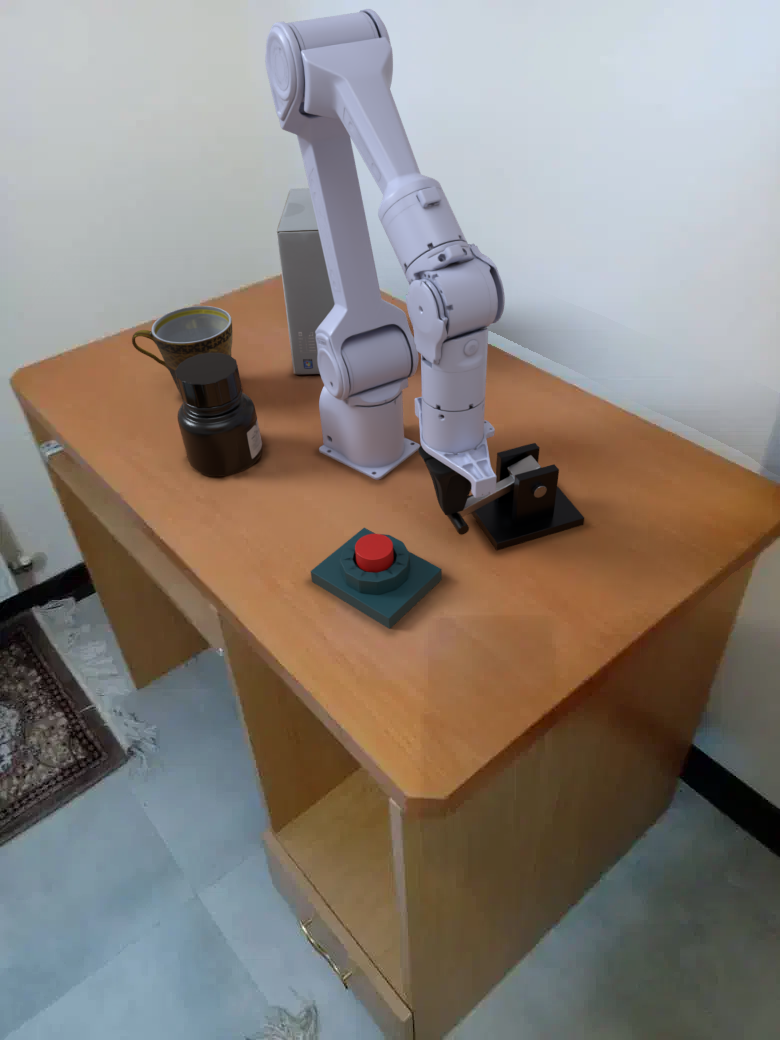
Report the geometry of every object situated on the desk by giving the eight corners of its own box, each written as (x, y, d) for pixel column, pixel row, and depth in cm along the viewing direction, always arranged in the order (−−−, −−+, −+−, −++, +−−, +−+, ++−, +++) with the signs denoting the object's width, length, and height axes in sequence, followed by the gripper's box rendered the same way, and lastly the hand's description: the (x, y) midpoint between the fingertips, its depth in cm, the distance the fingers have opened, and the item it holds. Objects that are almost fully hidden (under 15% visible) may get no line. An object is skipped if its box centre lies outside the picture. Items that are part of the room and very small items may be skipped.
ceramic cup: (248, 370, 109) (235, 303, 103) (240, 410, 102) (226, 341, 95) (154, 375, 109) (136, 308, 103) (139, 416, 102) (118, 346, 95)
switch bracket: (496, 552, 80) (500, 496, 75) (464, 505, 86) (465, 451, 81) (583, 526, 83) (592, 471, 78) (546, 482, 88) (552, 428, 83)
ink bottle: (277, 462, 93) (262, 373, 85) (208, 490, 90) (185, 400, 82) (242, 424, 99) (225, 338, 91) (176, 449, 96) (152, 362, 88)
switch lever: (461, 540, 79) (455, 525, 78) (441, 509, 83) (434, 494, 81) (553, 491, 80) (548, 475, 78) (528, 462, 83) (524, 446, 82)
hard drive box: (349, 375, 107) (336, 229, 94) (293, 377, 107) (273, 232, 94) (354, 321, 119) (344, 184, 106) (304, 322, 119) (287, 186, 106)
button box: (312, 583, 78) (308, 557, 76) (365, 539, 83) (363, 513, 80) (389, 630, 73) (388, 605, 71) (441, 581, 78) (441, 555, 75)
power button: (348, 562, 76) (347, 548, 74) (373, 541, 78) (371, 528, 76) (377, 578, 74) (376, 565, 73) (401, 557, 76) (400, 543, 75)
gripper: (531, 426, 67) (520, 543, 76) (461, 348, 77) (458, 459, 86) (454, 446, 65) (453, 563, 74) (393, 363, 75) (398, 475, 84)
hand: (451, 508), depth 80 cm, fingers closed, pressing on switch lever
